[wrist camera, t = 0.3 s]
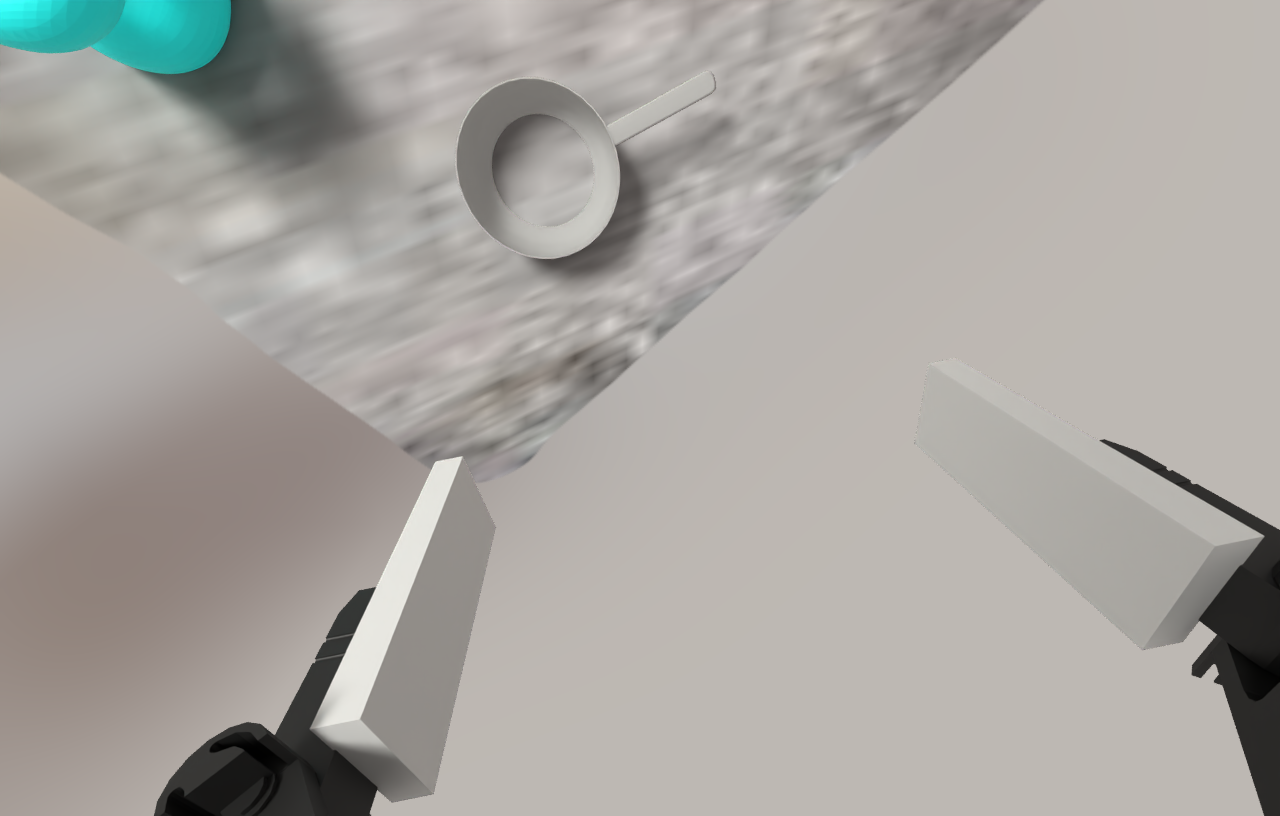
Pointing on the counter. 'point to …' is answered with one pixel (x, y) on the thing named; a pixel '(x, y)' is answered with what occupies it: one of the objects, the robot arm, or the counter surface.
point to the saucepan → (573, 109)
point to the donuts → (121, 30)
